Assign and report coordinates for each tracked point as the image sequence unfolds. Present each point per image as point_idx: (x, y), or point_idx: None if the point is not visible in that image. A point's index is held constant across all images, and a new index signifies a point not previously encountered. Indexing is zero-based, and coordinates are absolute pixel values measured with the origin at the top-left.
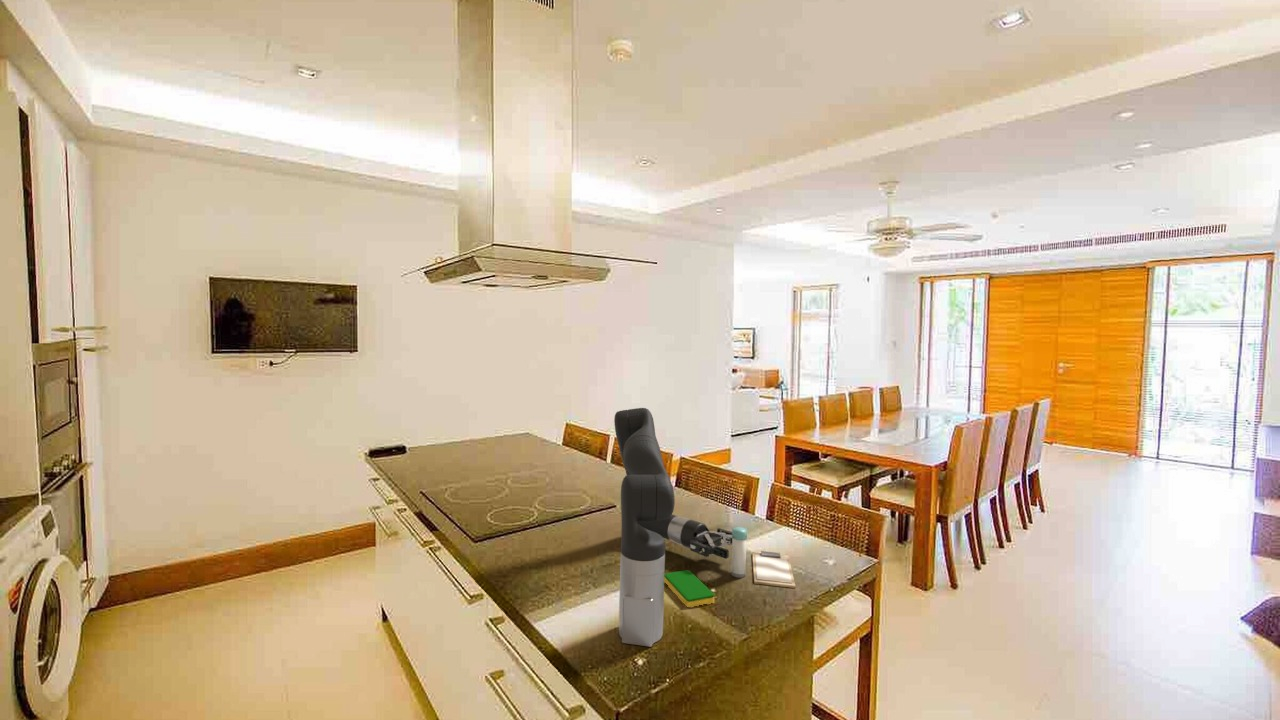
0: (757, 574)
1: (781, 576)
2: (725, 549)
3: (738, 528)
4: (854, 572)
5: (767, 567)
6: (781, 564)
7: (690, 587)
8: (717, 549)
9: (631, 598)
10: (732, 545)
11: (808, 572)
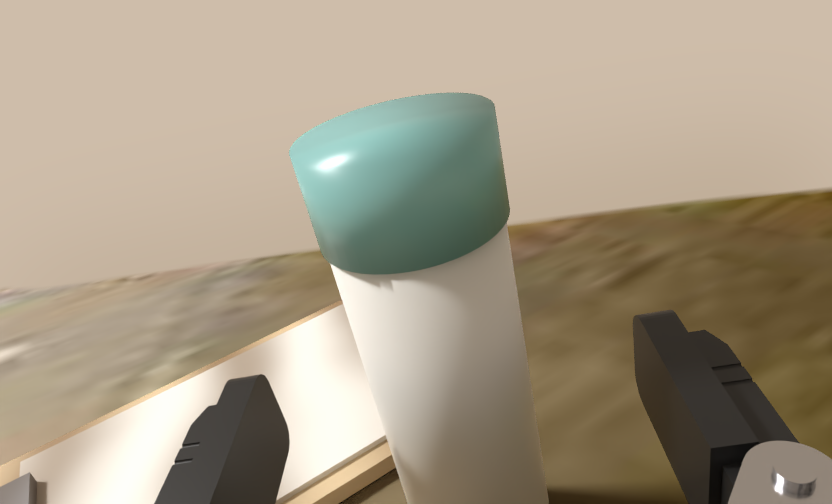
0: None
1: (329, 343)
2: (662, 327)
3: (357, 145)
4: (88, 282)
5: None
6: (152, 424)
7: None
8: (751, 411)
9: None
10: (503, 333)
11: (166, 345)
